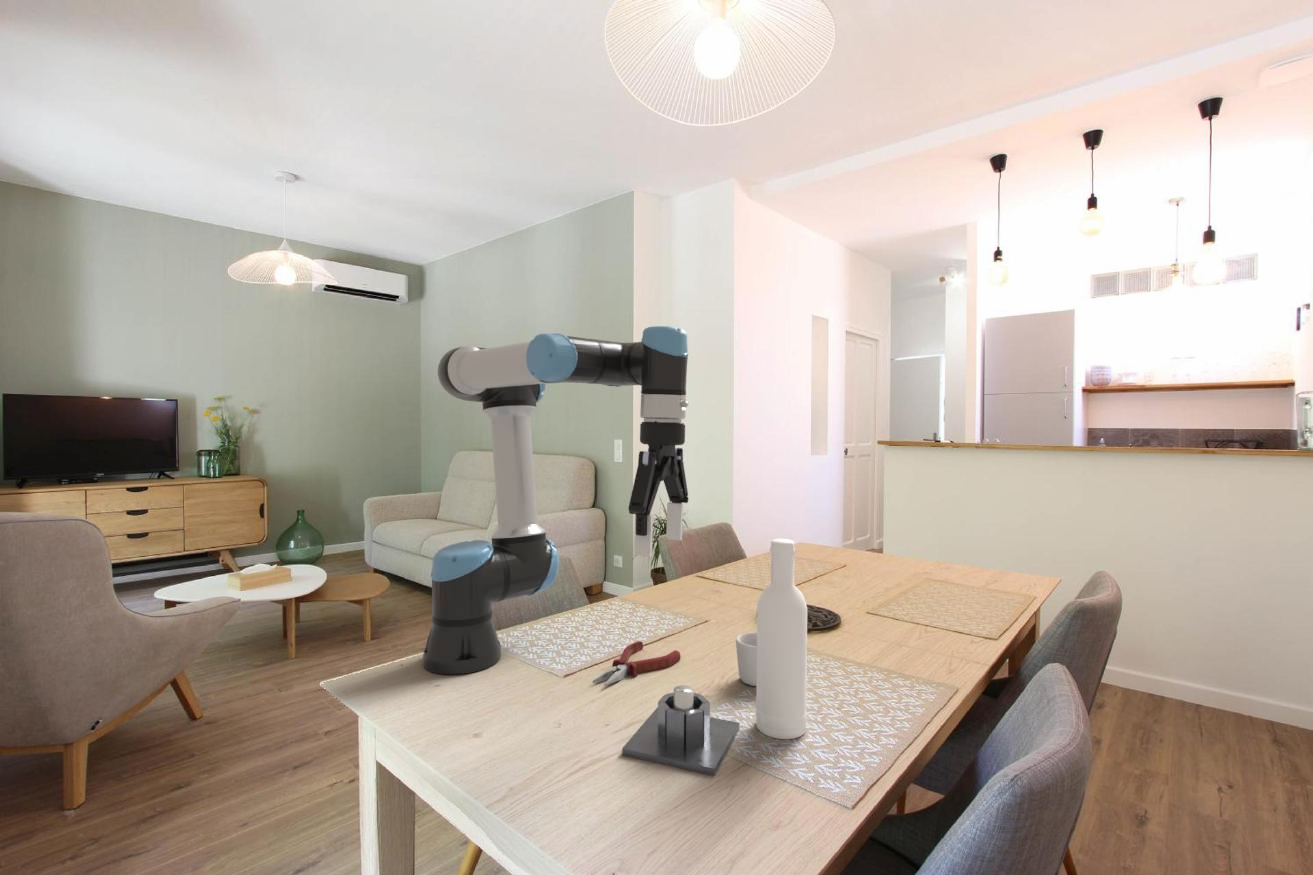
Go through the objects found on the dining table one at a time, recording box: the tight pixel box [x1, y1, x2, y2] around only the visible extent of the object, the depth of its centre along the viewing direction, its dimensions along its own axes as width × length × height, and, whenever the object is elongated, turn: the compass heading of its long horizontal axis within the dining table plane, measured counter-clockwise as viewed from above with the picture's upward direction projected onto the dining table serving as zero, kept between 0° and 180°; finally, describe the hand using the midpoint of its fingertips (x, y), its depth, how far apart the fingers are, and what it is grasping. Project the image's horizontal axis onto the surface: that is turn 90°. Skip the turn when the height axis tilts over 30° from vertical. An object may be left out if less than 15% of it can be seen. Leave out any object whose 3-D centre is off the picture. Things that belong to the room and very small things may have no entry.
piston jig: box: [621, 684, 741, 777], centre depth 94 cm, size 14×14×8 cm
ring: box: [657, 692, 711, 748], centre depth 94 cm, size 7×7×5 cm
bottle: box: [755, 538, 808, 740], centre depth 98 cm, size 8×8×30 cm
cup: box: [735, 632, 757, 687], centre depth 115 cm, size 11×8×8 cm
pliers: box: [592, 640, 682, 687], centre depth 121 cm, size 12×20×3 cm, turn 146°
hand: (659, 547), depth 104 cm, fingers open, 13 cm apart
